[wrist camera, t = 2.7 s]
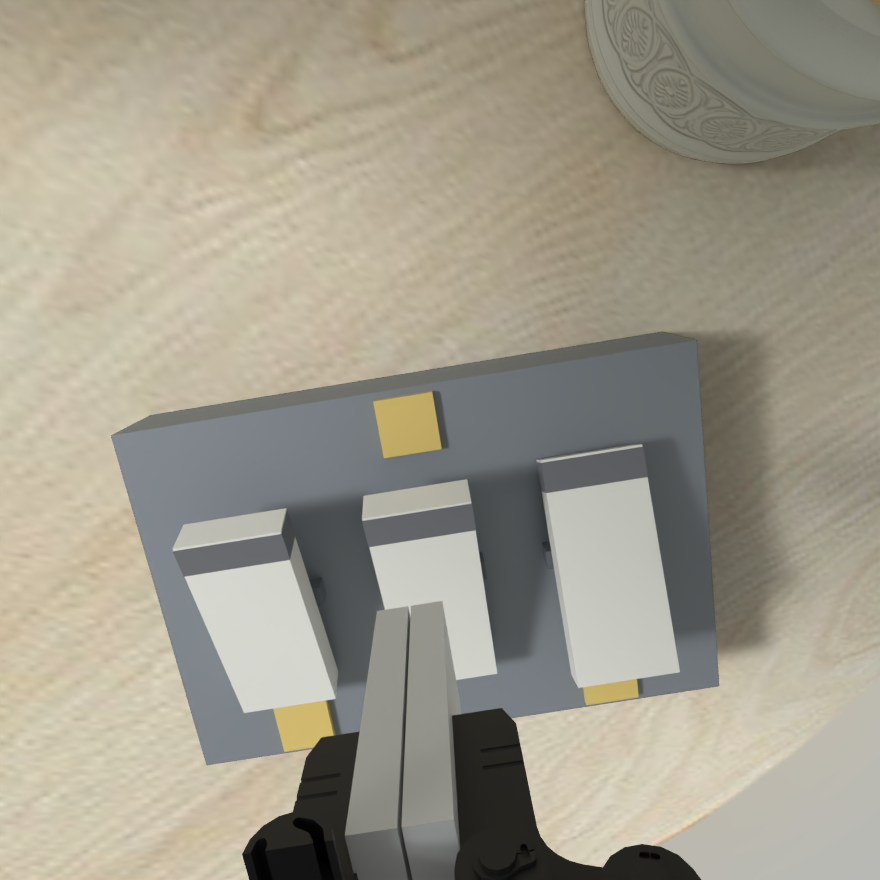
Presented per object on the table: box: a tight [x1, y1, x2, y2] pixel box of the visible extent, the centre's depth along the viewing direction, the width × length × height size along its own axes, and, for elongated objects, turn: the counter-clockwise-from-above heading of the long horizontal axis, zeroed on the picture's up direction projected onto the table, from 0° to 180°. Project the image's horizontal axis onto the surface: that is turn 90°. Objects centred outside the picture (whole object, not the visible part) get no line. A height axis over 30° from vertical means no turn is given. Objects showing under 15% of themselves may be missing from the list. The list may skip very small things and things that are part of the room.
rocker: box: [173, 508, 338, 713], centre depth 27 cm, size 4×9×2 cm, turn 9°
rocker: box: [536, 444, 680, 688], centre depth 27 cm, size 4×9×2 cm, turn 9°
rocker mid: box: [362, 479, 497, 680], centre depth 27 cm, size 4×9×2 cm, turn 9°
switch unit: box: [111, 332, 719, 765], centre depth 30 cm, size 24×16×5 cm, turn 99°
